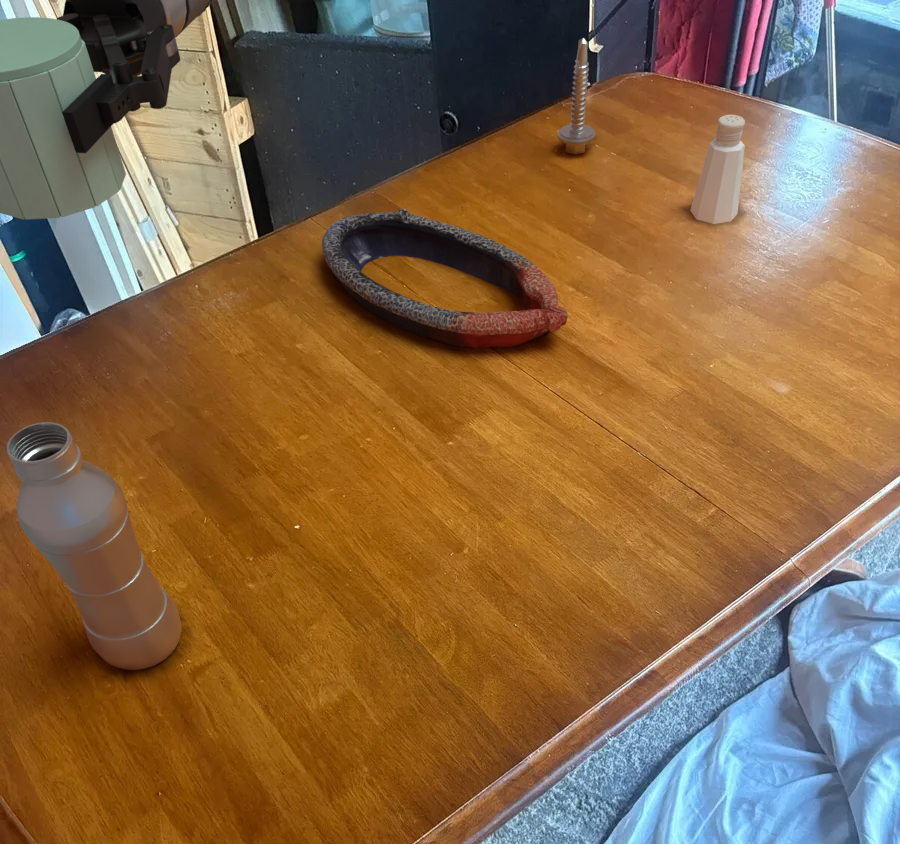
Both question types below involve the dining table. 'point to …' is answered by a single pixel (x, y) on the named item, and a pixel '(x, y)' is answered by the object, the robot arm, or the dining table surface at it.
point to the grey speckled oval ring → (450, 246)
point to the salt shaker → (721, 174)
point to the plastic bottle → (92, 547)
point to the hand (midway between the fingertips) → (0, 129)
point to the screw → (578, 107)
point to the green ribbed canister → (48, 124)
